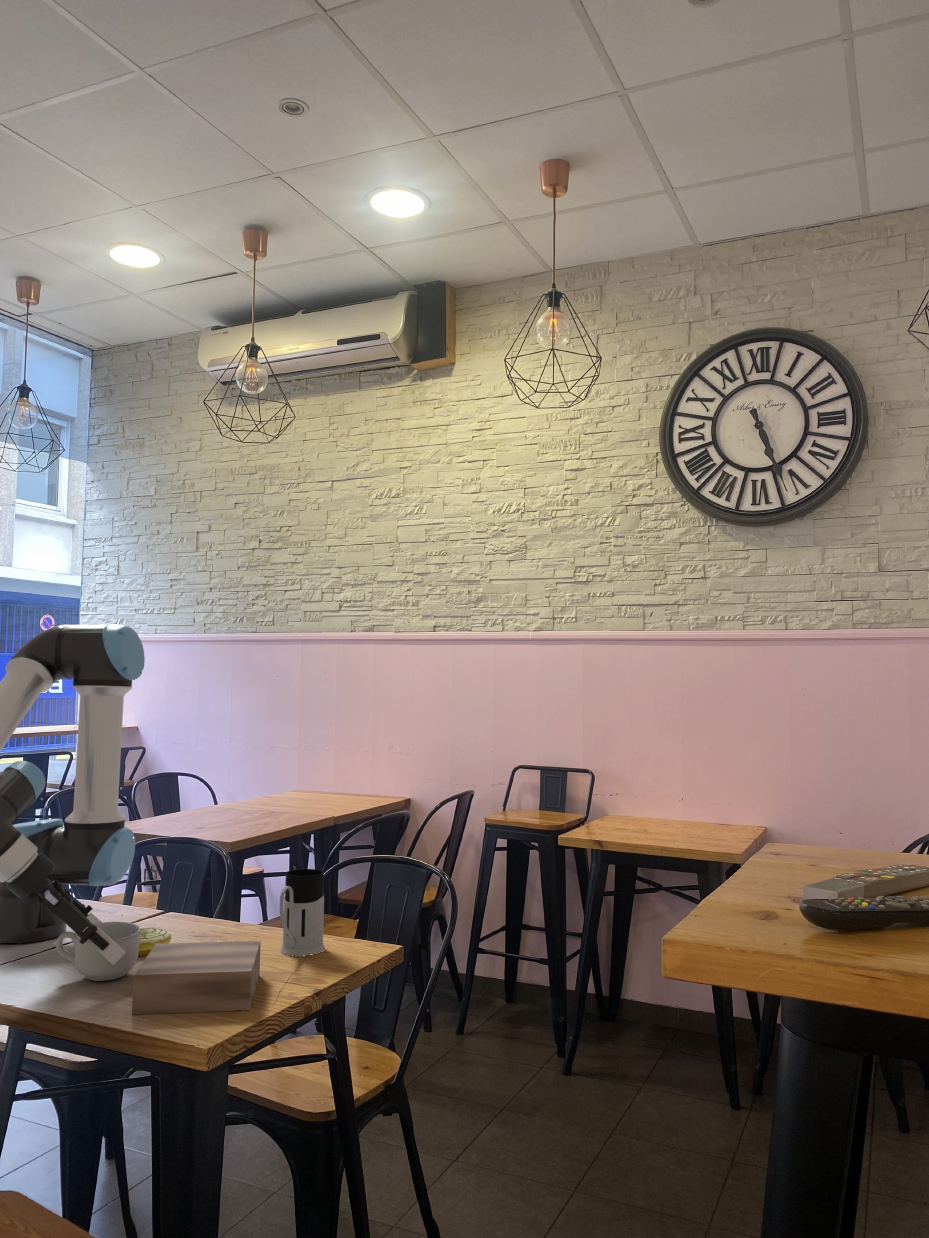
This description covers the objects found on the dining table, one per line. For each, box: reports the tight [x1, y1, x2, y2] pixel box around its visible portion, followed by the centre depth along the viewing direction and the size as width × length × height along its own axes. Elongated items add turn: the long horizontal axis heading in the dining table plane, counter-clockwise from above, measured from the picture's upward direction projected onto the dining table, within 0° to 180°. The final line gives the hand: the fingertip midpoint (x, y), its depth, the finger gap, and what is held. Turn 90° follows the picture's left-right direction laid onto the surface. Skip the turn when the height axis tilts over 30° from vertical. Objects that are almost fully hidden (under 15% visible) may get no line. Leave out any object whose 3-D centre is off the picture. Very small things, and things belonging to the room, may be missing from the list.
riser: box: [131, 940, 261, 1016], centre depth 147 cm, size 18×18×6 cm
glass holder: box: [279, 868, 326, 957], centre depth 172 cm, size 9×14×15 cm, turn 164°
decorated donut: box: [138, 927, 172, 957], centre depth 173 cm, size 10×11×4 cm
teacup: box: [55, 921, 141, 982], centre depth 155 cm, size 14×11×8 cm
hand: (115, 949), depth 156 cm, fingers closed on teacup, 11 cm apart
